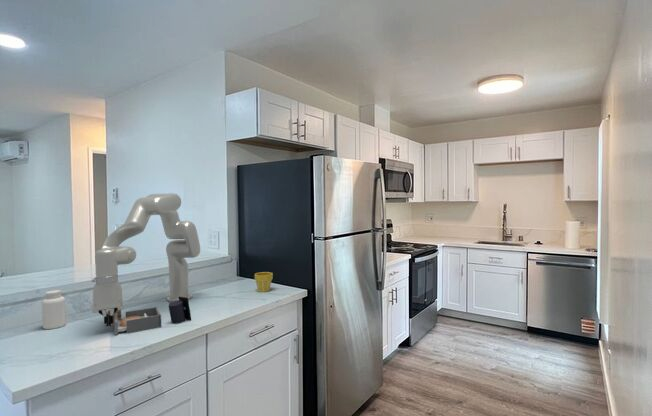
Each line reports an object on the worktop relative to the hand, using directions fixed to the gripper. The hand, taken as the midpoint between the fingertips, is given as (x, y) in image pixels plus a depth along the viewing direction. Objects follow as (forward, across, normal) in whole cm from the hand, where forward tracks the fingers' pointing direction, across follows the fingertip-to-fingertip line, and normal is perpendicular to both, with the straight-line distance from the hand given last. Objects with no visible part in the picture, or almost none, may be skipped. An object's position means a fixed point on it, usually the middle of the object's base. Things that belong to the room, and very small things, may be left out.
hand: (108, 325), depth 143 cm
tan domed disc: (+1, +8, 0) cm, 8 cm away
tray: (+3, +9, 0) cm, 10 cm away
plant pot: (+3, +76, +26) cm, 80 cm away
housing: (+3, +12, 0) cm, 12 cm away
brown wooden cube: (+3, +2, +12) cm, 12 cm away
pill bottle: (+3, -20, +21) cm, 29 cm away
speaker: (+3, +26, -4) cm, 27 cm away
